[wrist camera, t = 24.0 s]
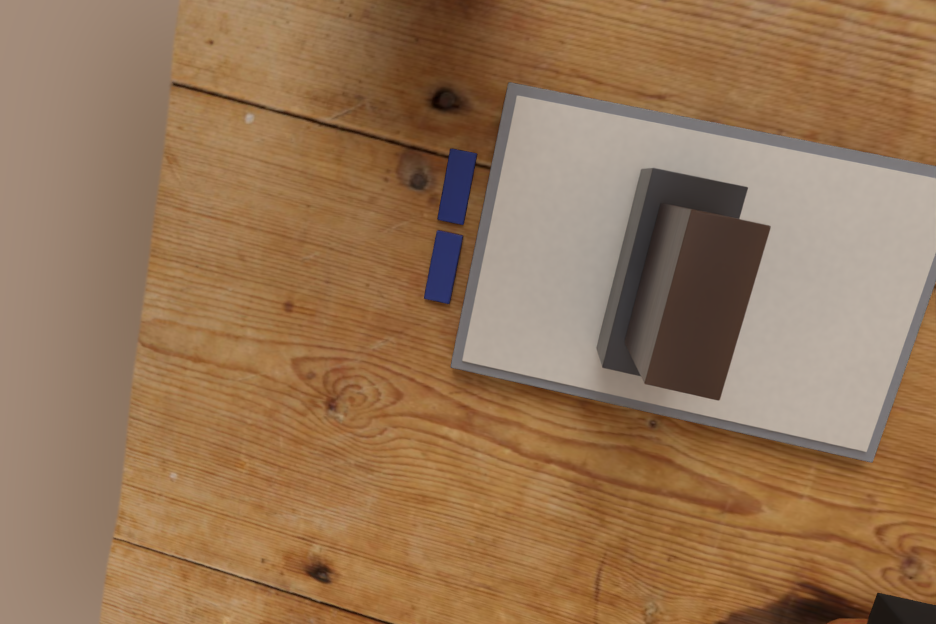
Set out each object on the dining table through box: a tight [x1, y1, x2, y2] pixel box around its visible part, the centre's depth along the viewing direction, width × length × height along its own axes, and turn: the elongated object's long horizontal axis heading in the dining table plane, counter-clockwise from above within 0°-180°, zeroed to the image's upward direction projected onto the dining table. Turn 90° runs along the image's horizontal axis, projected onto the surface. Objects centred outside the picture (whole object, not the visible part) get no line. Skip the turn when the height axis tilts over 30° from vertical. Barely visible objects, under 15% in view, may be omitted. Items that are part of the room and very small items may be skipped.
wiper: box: [596, 168, 771, 401], centre depth 32 cm, size 4×10×11 cm, turn 169°
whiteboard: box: [451, 82, 936, 462], centre depth 38 cm, size 24×16×1 cm, turn 79°
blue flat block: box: [438, 149, 477, 225], centre depth 39 cm, size 4×2×1 cm, turn 169°
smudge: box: [424, 230, 463, 304], centre depth 40 cm, size 4×2×1 cm, turn 169°
